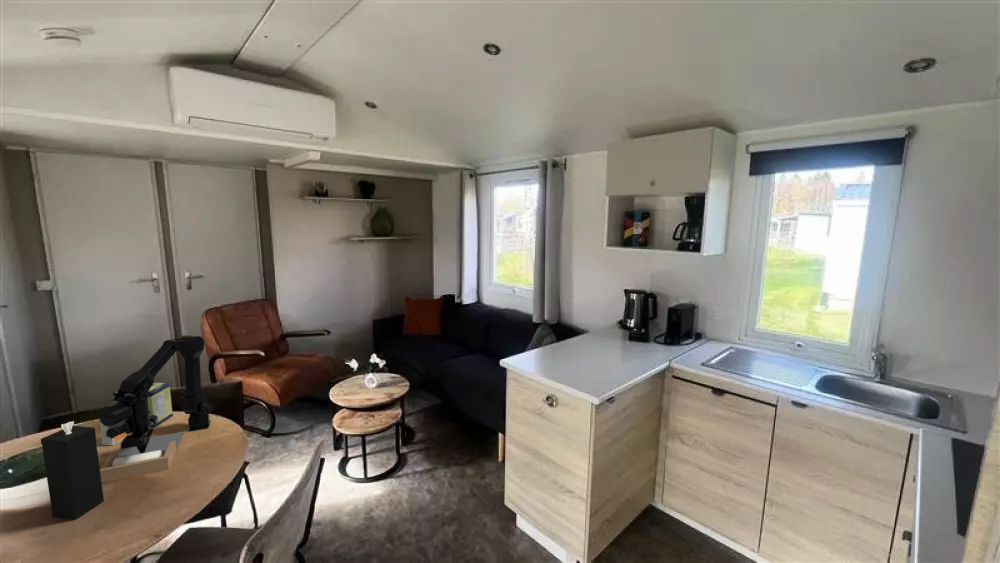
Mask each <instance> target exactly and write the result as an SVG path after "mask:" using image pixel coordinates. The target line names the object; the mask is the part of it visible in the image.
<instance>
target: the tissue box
mask: <svg viewBox="0 0 1000 563" xmlns="http://www.w3.org/2000/svg"><path fill="white" fill-rule="evenodd" d="M74 423H75V420H73V421H68V422H67V423H63V424H60V425H61V428H62V429H61V430H59V431H56V432H54V433H51V434H49V435H47V436H43V437H42V438H40V444H41V447H42V453H43V459H44V460H43V461H44V469H45V474H46V481H47V487H48V493H49V494H48V495H49V500H50V508H51V514H52V515H51V516H52V518H53V517H54V518H62V519H70V520H77V519H79V518H80V517H82V516H83V515H85V514H86V513H88V512H89V511H91V510H93V509H94V508H96V507H97V506H99V505H101V504H102V503H103V502H104V501H105V500H104V492H103V491H104V490H103V485H102V484H103V483H102V482H101V475H100V468H101V467H100V460H99V452H98V445H97V443H98V442H97V436H96V427H93V426H83V425H74Z"/></svg>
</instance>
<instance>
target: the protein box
mask: <svg viewBox="0 0 1000 563" xmlns="http://www.w3.org/2000/svg"><path fill="white" fill-rule="evenodd" d="M118 390H119V389H117V390H115V391H113V392H112V400H113V399H114V397H115V395H116V394H117V392H118ZM149 392H151V393H153V395H152V396H150V397H148V406H149V411H151V414H150V415H156V416H157V417H158V422H157V424H153V422H152V425H151V426H150V428H149V429H155V428H156V427H158V426H159V425H161V424H162V422H163V423H164V422H166V421H167V420H169V419H170V418H172V417H174V413H173V408H172V407H173V406H172V396H171V386H170V383H169V382H154V383H153V385H152V386H151V388H150V389H149ZM124 396H131V397H133V396H135V395H129V394H125V395H124ZM113 403H116V401H113ZM150 415H149V416H150ZM125 420H126V419H125Z"/></svg>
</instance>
